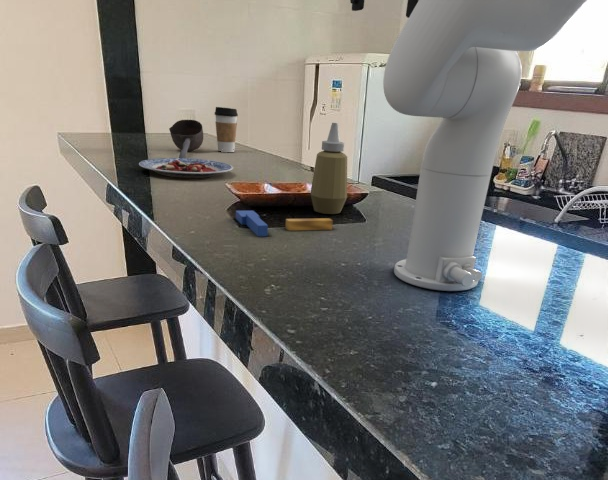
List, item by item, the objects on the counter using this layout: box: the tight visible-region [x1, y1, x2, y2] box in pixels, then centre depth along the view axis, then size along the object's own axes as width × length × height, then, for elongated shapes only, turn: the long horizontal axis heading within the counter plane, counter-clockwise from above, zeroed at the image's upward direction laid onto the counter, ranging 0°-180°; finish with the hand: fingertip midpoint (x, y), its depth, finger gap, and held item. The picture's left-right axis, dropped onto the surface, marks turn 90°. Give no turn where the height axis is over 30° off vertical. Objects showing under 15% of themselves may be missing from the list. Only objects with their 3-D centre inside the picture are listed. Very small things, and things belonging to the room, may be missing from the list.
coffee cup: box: [214, 106, 239, 153], centre depth 194 cm, size 8×8×15 cm
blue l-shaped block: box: [235, 210, 269, 237], centre depth 100 cm, size 14×4×2 cm, turn 20°
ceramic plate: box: [138, 157, 234, 179], centre depth 149 cm, size 26×26×3 cm
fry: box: [284, 217, 334, 232], centre depth 102 cm, size 9×2×2 cm, turn 110°
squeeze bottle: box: [309, 122, 348, 215], centre depth 113 cm, size 8×8×18 cm
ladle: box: [168, 119, 204, 158], centre depth 180 cm, size 12×38×10 cm, turn 8°
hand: (385, 13), depth 84 cm, fingers open, 9 cm apart
